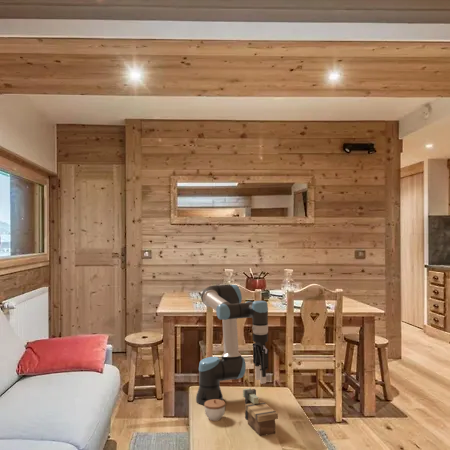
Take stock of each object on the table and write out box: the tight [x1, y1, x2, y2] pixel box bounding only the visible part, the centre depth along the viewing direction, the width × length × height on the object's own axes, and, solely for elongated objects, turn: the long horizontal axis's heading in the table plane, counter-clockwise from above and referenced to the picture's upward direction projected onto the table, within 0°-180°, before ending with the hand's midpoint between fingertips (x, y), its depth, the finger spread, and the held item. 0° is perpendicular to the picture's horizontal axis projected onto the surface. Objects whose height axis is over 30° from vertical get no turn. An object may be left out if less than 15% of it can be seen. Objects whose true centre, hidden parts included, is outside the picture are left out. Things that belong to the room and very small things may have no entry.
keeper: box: [244, 388, 257, 421], centre depth 223 cm, size 2×5×14 cm, turn 110°
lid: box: [244, 401, 279, 422], centre depth 212 cm, size 16×10×4 cm, turn 20°
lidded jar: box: [203, 399, 226, 422], centre depth 224 cm, size 11×11×9 cm
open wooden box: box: [247, 413, 276, 437], centre depth 211 cm, size 14×8×7 cm, turn 20°
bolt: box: [242, 387, 259, 404], centre depth 223 cm, size 12×4×4 cm, turn 20°
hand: (260, 381), depth 212 cm, fingers open, 5 cm apart
